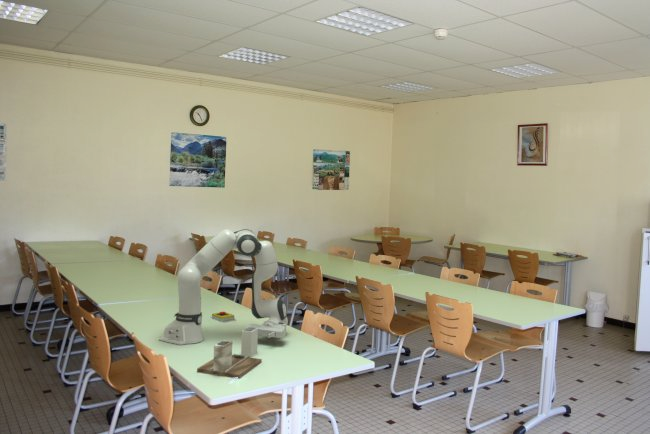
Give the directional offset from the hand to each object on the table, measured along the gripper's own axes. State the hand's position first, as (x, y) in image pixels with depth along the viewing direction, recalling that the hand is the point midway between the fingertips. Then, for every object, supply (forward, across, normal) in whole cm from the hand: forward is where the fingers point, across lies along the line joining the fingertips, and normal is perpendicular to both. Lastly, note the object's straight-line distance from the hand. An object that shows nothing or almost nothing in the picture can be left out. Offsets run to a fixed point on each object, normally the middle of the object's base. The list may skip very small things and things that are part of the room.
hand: (259, 335), depth 265 cm
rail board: (+30, 0, +6) cm, 31 cm away
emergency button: (-43, -43, +7) cm, 61 cm away
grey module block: (+11, 0, +6) cm, 13 cm away
